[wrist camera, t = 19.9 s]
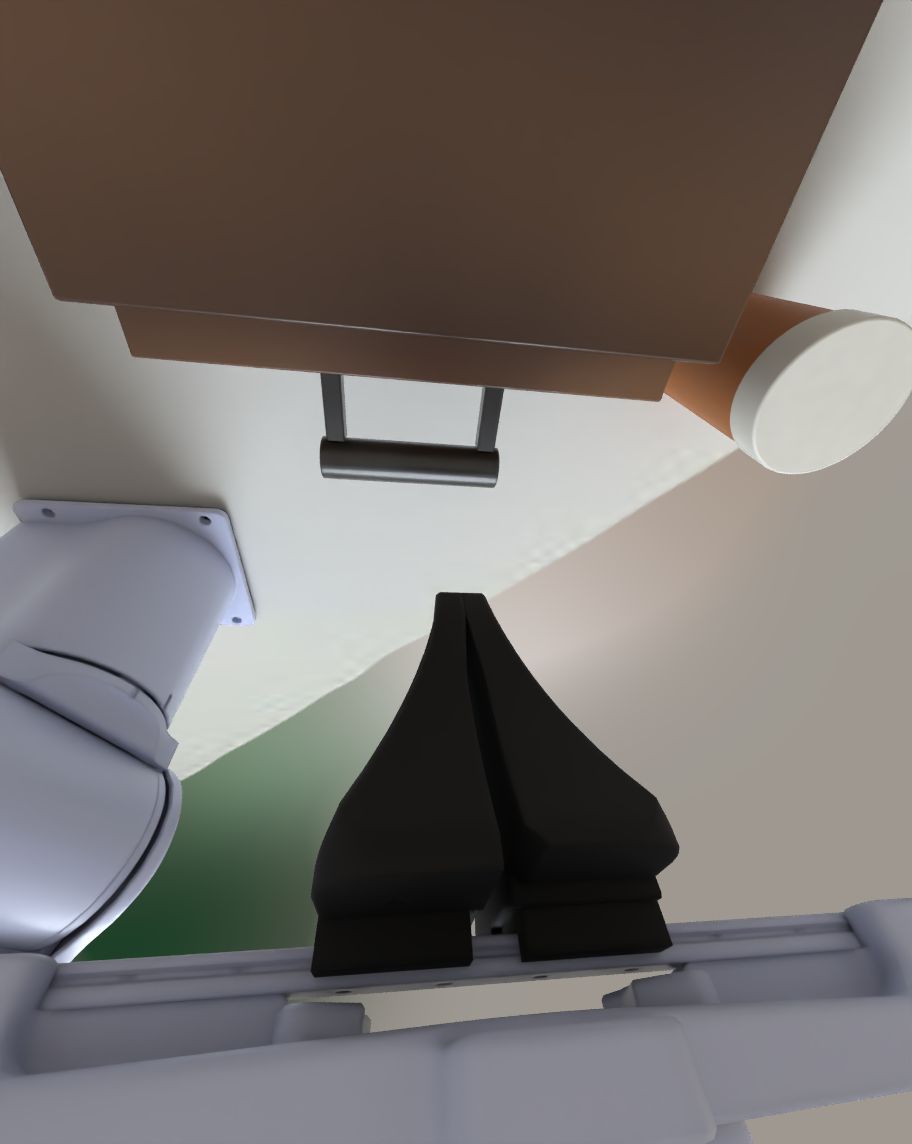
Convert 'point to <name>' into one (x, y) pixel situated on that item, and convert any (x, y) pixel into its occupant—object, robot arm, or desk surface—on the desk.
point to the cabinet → (422, 159)
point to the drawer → (394, 360)
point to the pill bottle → (801, 382)
